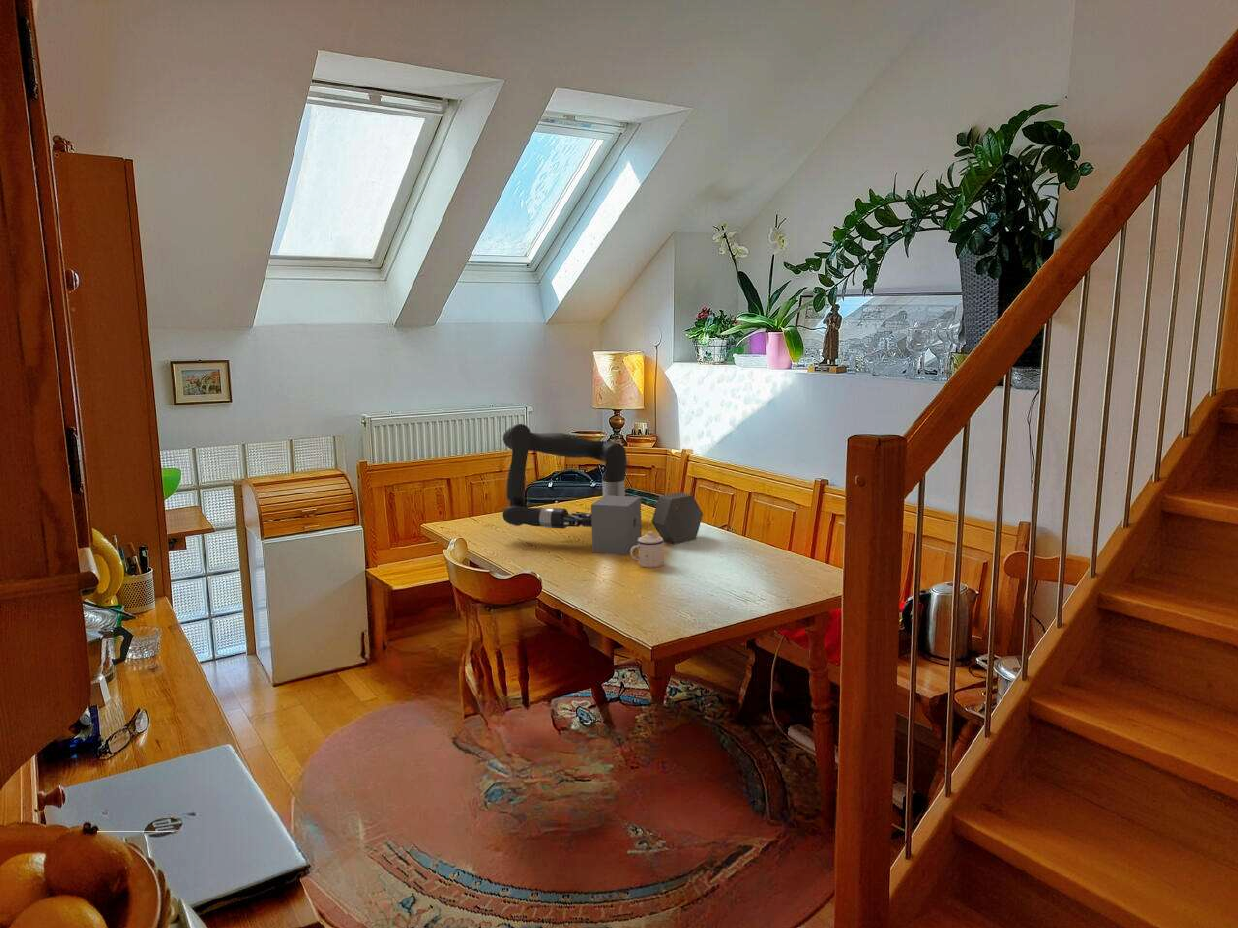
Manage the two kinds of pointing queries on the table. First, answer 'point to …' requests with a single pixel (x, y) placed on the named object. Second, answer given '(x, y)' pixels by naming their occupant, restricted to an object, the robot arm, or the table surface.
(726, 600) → the table surface
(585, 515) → the plunger
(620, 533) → the block
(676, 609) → the table surface
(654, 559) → the teacup with lid
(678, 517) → the dark grey hexagonal block
